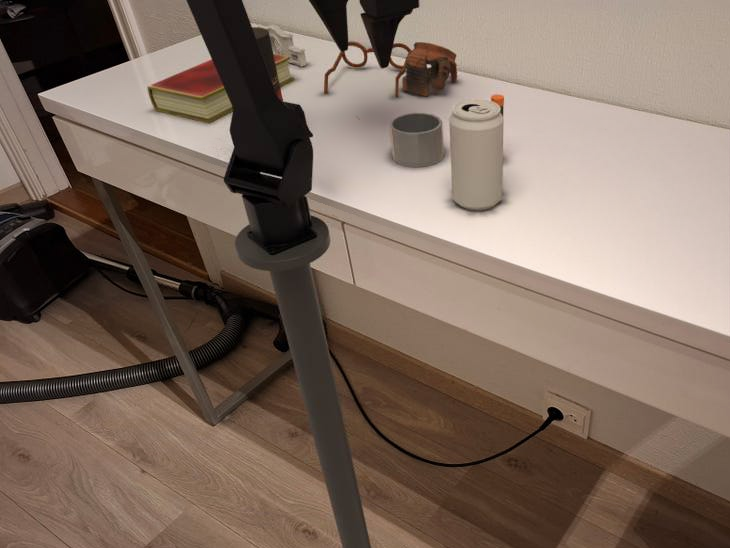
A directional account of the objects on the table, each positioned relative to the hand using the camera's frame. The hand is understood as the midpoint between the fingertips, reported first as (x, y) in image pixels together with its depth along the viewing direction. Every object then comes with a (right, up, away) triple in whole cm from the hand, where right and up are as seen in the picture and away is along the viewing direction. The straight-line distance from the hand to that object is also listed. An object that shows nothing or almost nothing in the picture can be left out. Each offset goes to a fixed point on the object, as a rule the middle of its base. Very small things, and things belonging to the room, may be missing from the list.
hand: (363, 58), depth 88 cm
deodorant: (-16, -7, +12) cm, 21 cm away
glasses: (-4, +9, +30) cm, 32 cm away
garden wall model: (-22, +17, +39) cm, 48 cm away
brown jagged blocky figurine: (+7, +7, +27) cm, 29 cm away
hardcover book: (-28, +6, +27) cm, 39 cm away
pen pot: (+6, -10, +8) cm, 14 cm away
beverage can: (+15, -19, -2) cm, 24 cm away
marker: (+18, -12, +6) cm, 22 cm away
